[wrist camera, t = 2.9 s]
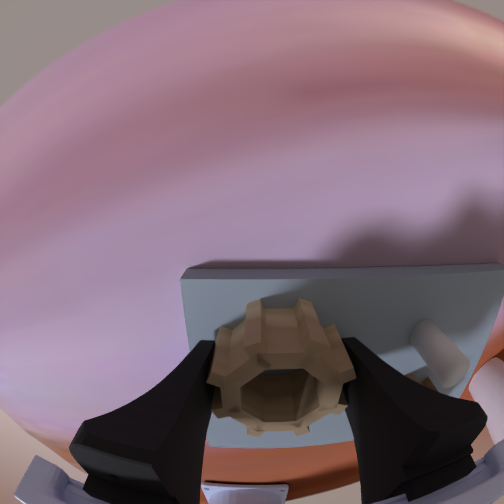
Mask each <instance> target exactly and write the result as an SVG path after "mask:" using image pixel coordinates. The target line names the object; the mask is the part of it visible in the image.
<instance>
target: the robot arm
mask: <svg viewBox="0 0 504 504" xmlns="http://www.w3.org/2000/svg"><path fill="white" fill-rule="evenodd" d="M341 340H342V342H343V344H344V347H345V349H346V351H347V353H348V356H349V358H350V360H351V363H352V365H353V367H354V371H355V374H356V379H353V380H351V381H348V382H346V383H343V387H342V389H343V392H344V395H345V398H346V401H347V404H348V406H347V407H346V409H345V412H346V415H347V418H348V421H349V424H350V426H351V430H352V433H353V437H354V442H355V447H356V453H357V459H358V466H359V474H360V483H361V497H362V498H361V500H362V504H492V503H493V502H495V501H496V500H498V499H499V498H500V497H501V496H503V495H504V439H503V440H501V441H500V442H498V443H497V444H495V445H494V446H493V447H492V448H491V449H490V450H489V451H488V452H487V453H486V454H485V455H484V457H483V458H481V459H479V460H478V461H476V462H474V461H473V459H472V457H471V455H470V454H471V453H472V452H473V448H472V447H471V444H472V442H473V441H474V440H475V439H476V438H477V436H478V435H479V434H480V432H481V431H482V430H483V428H484V427H485V425H486V422H487V419H488V416H487V414H486V413H485V412H484V410H483V409H482V407H481V406H480V404H479V403H478V402H474V401H469V400H464V399H459V398H455V397H452V396H449V395H445V394H442V393H440V392H437V391H435V390H432V389H430V388H428V387H425V386H423V385H421V384H419V383H417V382H415V381H414V380H412V379H410V378H408V377H406V376H405V375H403V374H402V373H400V372H399V371H397V370H396V369H394V368H393V367H391V366H390V365H389V364H387V363H386V362H385V361H383V360H382V359H381V358H380V357H378V356H377V355H376V354H375V353H373V352H372V351H371V350H370V349H369V348H367V347H366V346H365V345H364V344H363V343H361V342H360V341H359V340H358V339H357V338H355V337H348V338H341ZM214 347H215V340H200V341H199V342H198V343H197V344H196V346H195V347H194V348H193V349H192V350H191V352H190V353H189V354H188V355H187V356H186V357H185V358H184V359H183V361H182V362H181V363H180V364H179V365H178V366H177V367H176V368H175V369H174V370H173V371H172V372H171V373H170V374H169V375H168V376H166V377H165V378H164V379H163V380H162V381H161V382H160V383H158V384H157V385H156V386H155V387H153V388H152V389H151V390H149V391H148V392H147V393H145V394H144V395H142V396H140V397H139V398H137V399H135V400H134V401H132V402H130V403H128V404H126V405H124V406H122V407H120V408H118V409H116V410H114V411H112V412H109V413H107V414H104V415H101V416H98V417H95V418H92V419H89V420H85V421H84V422H83V423H82V425H81V426H80V428H79V429H78V431H77V433H76V435H75V437H74V439H73V440H72V442H71V444H70V446H69V449H70V452H71V454H72V456H73V457H74V459H75V460H76V461H77V462H78V463H79V464H80V465H81V467H82V468H83V469H84V470H85V471H86V472H87V473H88V474H89V475H88V477H87V479H86V482H85V484H83V483H81V482H79V481H76V480H74V479H72V478H69V476H68V475H67V474H66V473H65V472H64V471H63V470H62V469H61V468H59V467H58V466H56V465H55V464H53V463H51V462H49V461H47V460H45V459H43V458H41V457H39V456H37V455H36V456H35V457H34V459H33V460H32V462H31V464H30V466H29V467H28V469H27V471H26V473H25V474H24V476H23V478H22V480H21V482H20V483H19V485H18V487H17V489H16V491H15V493H14V497H15V498H17V499H18V500H19V501H20V502H22V503H23V504H200V487H201V488H202V490H203V492H204V494H205V496H206V499H207V501H208V503H209V504H284V503H285V500H286V496H287V493H288V489H289V486H288V485H286V484H280V485H235V484H219V483H207V482H203V483H201V475H202V464H203V455H204V447H205V440H206V434H207V430H208V426H209V422H210V418H211V414H212V411H211V406H212V401H213V395H214V389H215V386H214V385H211V384H208V383H206V382H207V377H208V373H209V368H210V364H211V360H212V356H213V351H214Z"/></svg>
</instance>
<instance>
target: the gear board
mask: <svg viewBox="0 0 504 504" xmlns="http://www.w3.org/2000/svg"><path fill="white" fill-rule="evenodd" d="M180 282H181V291H182V299H183V307H184V315H185V322H186V329H187V336H188V342H189V349H190V352H191V350H192V349H193V348H194V347H195V346H196V344H197V343H198V342H199V341H200V340H215V342H216V337H217V335H218V332H219V330H220V327H221V326H223V327H225V328H228V329H231V330H233V329H234V328H235V327H237V326H238V325H239V324H240V323H241V322H242V321H244V320H245V319H246V306H247V303H249V302H252V301H255V300H257V299H261V301H262V303H263V305H264V307H265V309H280V308H294V307H295V305H296V303H297V301H298V299H299V298H301V299H304V300H306V301H309V302H312V304H313V306H314V309H315V312H316V314H317V317H318V320H319V322H320V325H321V327H323V328H326V327H328V326H331V325H333V324H335V326H336V329H337V331H338V333H339V335H340V337H341V338H348V337H355V338H357V339H358V340H359V341H360V342H361V343H363V344H364V345H365V346H366V347H367V348H369V349H370V350H371V351H372V352H373V353H375V354H376V355H377V356H378V357H380V358H381V359H382V360H383V361H385V362H386V363H387V364H389V365H390V366H391V367H393V368H394V369H396V370H397V371H399V372H400V373H402V374H403V375H407V374H413V376H414V377H415V379H416V380H417V381H418V382H422V381H423V380H425V379H426V378H427V377H429V378H430V380H431V381H432V382H433V384H434V385H435V387H436V388H437V390H438V391H439V392H440V393H442V394H445V395H449V396H452V397H455V398H460V396H461V394H462V393H463V391H464V389H465V387H466V385H467V383H468V381H469V379H470V378H471V376H472V374H473V372H474V370H475V367H476V365H477V363H478V361H479V359H480V357H481V354H482V352H483V350H484V348H485V345H486V343H487V340H488V338H489V335H490V333H491V330H492V328H493V325H494V322H495V319H496V317H497V314H498V311H499V308H500V304H501V301H502V298H503V295H504V266H503V265H501V264H499V263H484V264H461V265H434V266H402V267H361V268H291V269H186V271H185V272H184V274H183V275H182V277H181V278H180ZM295 370H296V369H267V370H264V371H263V372H262V373H261V374H263V375H284V374H290V373H292V372H293V371H295ZM309 430H310V432H309V433H306V434H302V435H299V436H296V435H295V433H294V431H267V432H264V433H263V434H262V435H261V437H256V436H251V435H247V426H245V425H244V424H242V423H240V422H238V421H236V420H235V419H233V418H231V417H225V418H220V419H218V418H217V417H216V416H215V415H214V413H213V412H212V414H211V418H210V422H209V426H208V430H207V434H206V435H207V440H208V444H209V446H213V447H228V448H287V447H302V446H314V445H323V444H331V443H338V442H345V441H351V440H354V437H353V433H352V430H351V426H350V424H349V421H348V418H347V415H346V412H345V410H344V411H343V412H342V413H341V414H340V415H338V414H332V413H329V414H328V415H326V416H324V417H323V418H321V419H319V420H318V421H316V422H314V423H312V424H311V425H309Z"/></svg>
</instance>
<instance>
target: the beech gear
mask: <svg viewBox="0 0 504 504" xmlns="http://www.w3.org/2000/svg"><path fill="white" fill-rule="evenodd" d="M267 369H296V370H295V371H293V372H292V373H290V374H284V375H263V374H261V373H262V372H263V371H264V370H267ZM353 379H356V374H355V371H354V367H353V365H352V363H351V360H350V358H349V356H348V353H347V351H346V349H345V347H344V344H343V342H342V340H341V337H340V335H339V333H338V331H337V329H336V326H335V324H333V325H331V326H328V327H326V328H323V327H321V325H320V322H319V320H318V317H317V314H316V312H315V309H314V306H313V304H312V302H309V301H306V300H304V299H301V298H299V299H298V301H297V303H296V305H295V307H294V308H280V309H265V307H264V305H263V303H262V301H261V299H257V300H255V301H252V302H249V303H247V306H246V319H245V320H244V321H242V322H241V323H240V324H239V325H238V326H237V327H235V328H234V329H233V330H231V329H228V328H225V327H223V326H221V327H220V330H219V332H218V335H217V337H216V342H215V347H214V351H213V356H212V360H211V364H210V368H209V373H208V377H207V382H206V383H208V384H211V385H214V386H215V389H214V395H213V401H212V406H211V411H212V412H213V413H214V415H215V416H216V417H217V418H218V419H220V418H225V417H231V418H233V419H235V420H236V421H238V422H240V423H242V424H244V425H245V426H247V435H251V436H256V437H261V435H262V434H263V433H264V432H267V431H294V433H295V435H296V436H299V435H302V434H306V433H309V432H310V430H309V425H311V424H312V423H314V422H316V421H318V420H319V419H321V418H323V417H324V416H326V415H328V414H329V413H332V414H338V415H340V414H341V413H342V412H343V411H344V410H345V409H346V407H347V406H348V404H347V401H346V398H345V395H344V392H343V389H342V387H343V383H346V382H348V381H351V380H353Z"/></svg>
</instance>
